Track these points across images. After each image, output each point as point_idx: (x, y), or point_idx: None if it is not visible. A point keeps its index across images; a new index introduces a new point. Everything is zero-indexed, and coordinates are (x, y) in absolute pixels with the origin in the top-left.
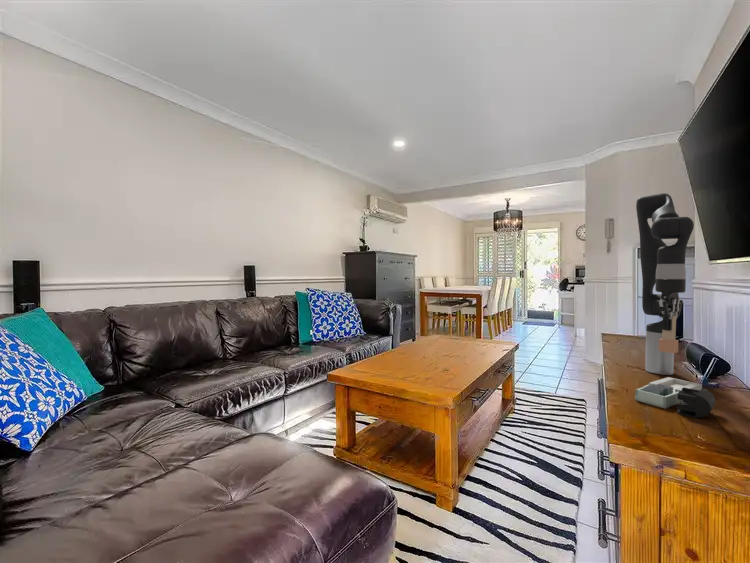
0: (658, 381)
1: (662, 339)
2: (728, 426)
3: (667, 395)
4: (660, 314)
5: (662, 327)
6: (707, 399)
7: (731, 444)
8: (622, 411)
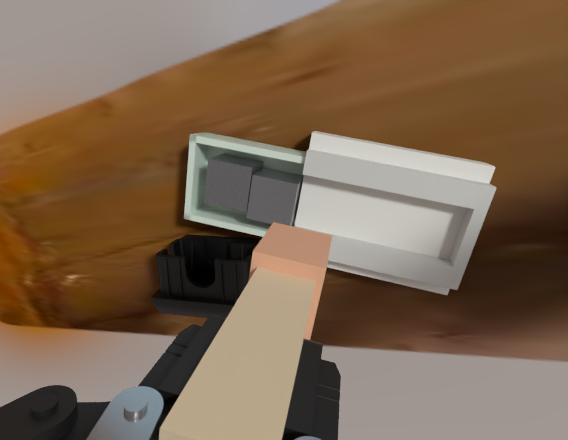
0: (365, 172)
1: (252, 269)
2: (189, 317)
3: (207, 219)
4: (8, 424)
5: (207, 322)
6: (172, 313)
7: (87, 317)
8: (75, 134)
